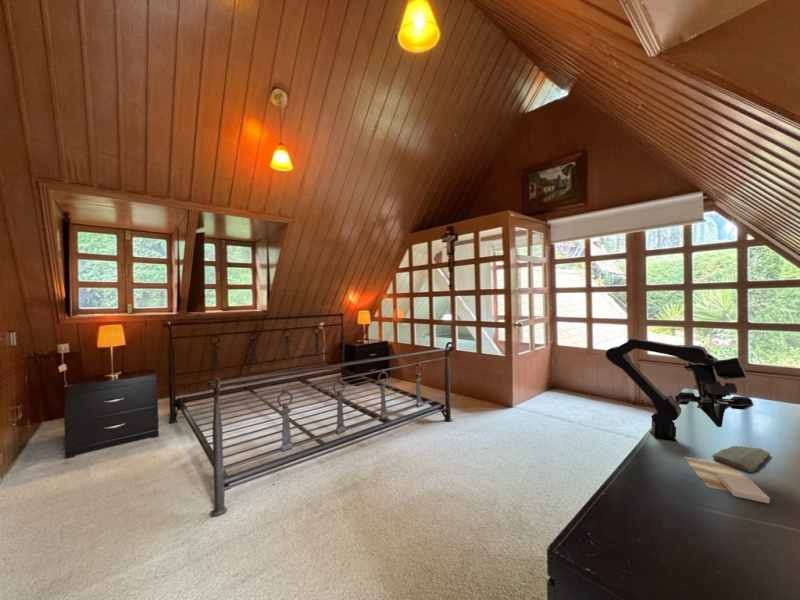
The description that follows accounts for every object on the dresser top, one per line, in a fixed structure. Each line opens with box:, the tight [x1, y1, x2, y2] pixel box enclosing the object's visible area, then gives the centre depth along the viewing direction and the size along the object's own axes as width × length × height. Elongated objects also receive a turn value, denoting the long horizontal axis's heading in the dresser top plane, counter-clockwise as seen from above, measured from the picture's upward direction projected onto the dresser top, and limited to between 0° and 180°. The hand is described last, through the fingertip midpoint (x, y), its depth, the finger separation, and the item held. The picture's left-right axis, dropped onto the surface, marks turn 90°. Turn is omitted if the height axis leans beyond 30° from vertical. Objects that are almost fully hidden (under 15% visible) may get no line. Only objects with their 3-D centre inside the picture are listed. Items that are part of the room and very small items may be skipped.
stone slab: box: [711, 445, 771, 473], centre depth 108 cm, size 22×3×10 cm
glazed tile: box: [716, 472, 771, 504], centre depth 90 cm, size 2×7×10 cm
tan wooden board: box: [683, 456, 745, 492], centre depth 97 cm, size 18×12×1 cm
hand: (719, 426), depth 105 cm, fingers closed
